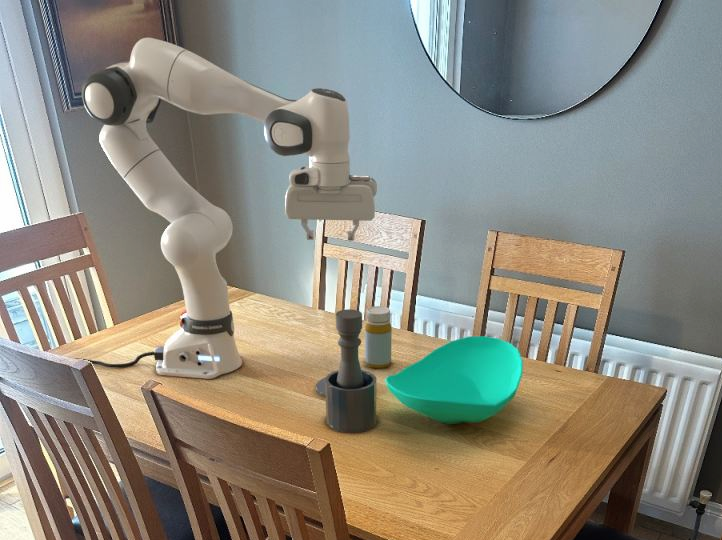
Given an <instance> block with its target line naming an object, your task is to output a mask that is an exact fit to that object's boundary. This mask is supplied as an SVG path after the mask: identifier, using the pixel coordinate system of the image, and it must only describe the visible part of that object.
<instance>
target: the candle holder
mask: <svg viewBox="0 0 722 540" xmlns="http://www.w3.org/2000/svg"><path fill="white" fill-rule="evenodd" d="M335 329H336V331H337V333H338V335H339V338H338V339H337V345H338V346H339V347H340V363H339V368H338V370H339V372H338V376H337V385H338V387H339V388H343V389H357V388H362V386H363V383H364V379H363V375H362V371H361V370H362V367H361V364H360V358H359V348H360V346H361V344H362V340H361V338H360V334H361V332H362V329H363V313H362V311H359V309H351V308H349V309H348V308H347V309H341V310H338V311H336V313H335Z"/></svg>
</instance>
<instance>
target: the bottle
mask: <svg viewBox="0 0 722 540" xmlns="http://www.w3.org/2000/svg"><path fill="white" fill-rule="evenodd" d="M392 329H393V328H392V325H391V309H390V308H389V307H387V306H382V305H375V306H369V307H367V308H366V324H365V326H364V361H365V364H366V365H367V366H368V367H369V368H371V369H385V368H387V367H389V366H390V365H391V363H392V337H393V336H392V334H393V333H392V331H393V330H392Z"/></svg>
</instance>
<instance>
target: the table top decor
mask: <svg viewBox="0 0 722 540" xmlns="http://www.w3.org/2000/svg"><path fill="white" fill-rule="evenodd" d="M523 366H524V361H523V357H522V355H521V353H520V351H519V349H518V348H517V347H515V346H514V345H513V344H512V343H511V342H510V341H506V340H503V339H501V338H498V337H491V336H487V335H486V336H485V335H484V336H483V335H482V336H481V335H472V336H471V335H470V336H466V337H461V338H457V339H454V340H451V341H449V342H447V343H445V344H443V345H441V346H439V347H437V348H435V349H434V350H432V351H431V352H430V353H428V354H427V355H425V356H424V357H422V358H421V359H420V360H418V361H416V362H414V363H412V364H409V365H408V366H406V367H405V368H403V369H401V370H400V371H399V372H397V373H396V374H391V375H390V374H389V375H387V376H386V377H385V379H384V382H385V384H386V388H387V390H388V391H389V392H390V394H391V395H392V396H394V397H395V399H397V401H399V402H400V403H401V404H402V405H404V406H406V407H407V408H409V409H411V410H412V411H415V412H416V413H419V414H421V415H423V416H425V417H427V418H430V419H432V420H434V421H436V422H438V423H441V424H445V425H457V424H461V423H469V424H475V423H481V422H483V421H485V420H487V419H489V418H491V417H493V416H494V415H496V414H498V413H500V412H501V411H502V410H503V409H504V408H505V407H506V406H507V405H508V404H509V403H510V402H511V401H512V400H513V399H514V398H515V396H516V394H517V392H518V389H519V386H520V383H521V379H522V376H523V370H524V369H523V368H524V367H523Z"/></svg>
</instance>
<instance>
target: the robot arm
mask: <svg viewBox="0 0 722 540" xmlns="http://www.w3.org/2000/svg"><path fill="white" fill-rule="evenodd" d="M81 101H82V104H83V106H84V108H85V110H86V111H87V113H88V114H89V116H90V117H91V118H92V119H93V120H95V121H96V122H97V123H99V124H101V125H102V128H101V130H100V132H99V143H100V145H101V147H102V149H103V151H104V152H105V154H106V156H107V157H108V160H109V161H110V162H111V164H112V165H113V167H114V168H115V170H116V171H117V173H118V174H119V175H120V176H121V178H122V179H123V180H124V181H125V183H126V184H127V186H129V188H130V189H131V190H132V192H133V193H134V194H135V195H136V196H137V198H138V199H139V200H140V202H141V203H142V204H143V205H144V206H145V207H146V208H147V209H148V210H149V211H150V212H153V213H156V214H158V215H159V216H161V217H162V218H164V219H166V220H167V221H168V222H169V223H170V224H169V225H168V226H167V228H166V229H165V230H164V232H163V233H162V235H161V238H160V249H161V252H162V255H163V256H164V258H165V259H166V260H167V261H168V263H170V264H171V265H172V266H173V267H174V269H175V272H176V273H177V275H178V278H179V281H180V284H181V288H182V294H183V298H184V305H185V309H183V310H182V311H181V313H180V317H179V326H180V327H181V328H179V329H178V330H177V331H176V332H175V333H173V334H172V335H171V336H170V337H169V338H168V339H167V340H166V342H165V344H164V346H163V345H162V346H161V345H158V346H157V347H156V349H154V351H149V352H144V353H141V354H139V355H137V356H136V358H135V359H134V360H133V361H130V362H127V363H107V362H104V361H100V360H93V359H87V358H82V359H83V360H88V361H90V362H92V365H97V366H98V365H99V366H102V367H106V368H112V369H113V368H116V369H117V368H127V367H132V366H134V365H136V364H138V363H139V361H140V360H141V359H143V358H146V357H149V356H150V357H151V356H153V357H154V360H155V361H157V362H156V365H155V370H156V373H157V374H158V375H159V376H160V375H161V376H169V377H180V378H181V377H182V378H194V379H205V380H206V379H207V380H212V379H216V378H217V377H219V376H221V375H224V374H227V373H232V372H234V371H236V370H237V369H239V368H240V367H241V366H242V365H243V359H242V358H241V355H240V353H239V350H238V346H237V344H236V338H235V323H234V321H235V320H234V317H233V312H232V310H231V306H230V298H229V297H230V296H229V289H228V283H227V280H226V279H225V278H224V277H223V276H222V275H221V272H220V270H219V268H218V264H217V260H216V255H217V253H219V252H220V251H221V250H223V249H225V247H226V246H227V245H228V243H229V242H230V240H231V237H232V236H233V230H234V228H233V227H234V226H233V222H232V219H231V217H230V215H229V214H228V213H227V212H226V211H225V210H224V209H223V208H221V207H219V206H216V205H214V204H213V203H212V202H210V201H209V200H208V199H206V198H205V197H204V196H202V195H201V194H200V193H199V192H198V191H197V190H196V189H195V188H194V187H192V186H191V185H190V184H189V183H188V182H187V181H186V180H185V179H184V178H183V177H182V175H181V174H180V173H179V172H178V170H177V169H176V168H175V166H173V163H171V161H170V160H169V159H168V158H167V156H166V155H165V154H164V152H163V151H162V150H161V149H160V147H159V146H158V145H157V143H155V141H154V140H153V139H152V137H151V136H150V134H149V132H148V130H147V124H151V123H153V122H154V120H155V118H156V116H157V113H158V110H159V109H160V107H161V106H162V104H163V101H165V102H167V103H168V104H171V105H173V106H175V107H177V108H179V109H181V110H184V111H187V112H189V113H193V114H197V115H204V116H206V115H207V116H208V115H209V116H210V115H218V114H238V115H243V116H245V117H250V118H252V119H254V120H256V121H259V122H262V123H263V124H264V126H263V133H264V139H265V141H266V143H267V145H268V147H269V148H270V149H271V150H272V151H273V153H275V154H276V155H279V156H281V157H282V156H283V157H295V156H297V155H303V154H304V155H307V156H308V164H306V165H303V166H301V167H297V168H294V169H293V170H292V171H291V172H290V173H289V175H288V179H289V185H288V187H287V190H286V193H285V200H284V201H285V202H284V215H285V216H286V218H287V219H288V220H300V222H301V223H300V224H301V226H302V228H303V230H304V232H305V233H306V240H307V241H313V240H314V238H315V237H314V230H313V229H310V228H309V226H308V223H309V221H310V220H314V221H322V220H323V221H352V225H353V227H352V229H351V230H348V231H347V241H351V242H355V234H356V232H357V230H358V228H359V227H360V222H361V221H363V222H371V221H373V220H374V218H376V208H375V199H374V198H375V196H376V195H377V191H378V185H377V181H376V180H375V178H373V177H371V176H370V175H367V174H365V175H359V174H351V173H350V172H351V171H350V170H351V169H350V168H351V167H350V166H351V165H350V163H351V161H350V154H349V143H350V138H351V137H350V135H351V134H350V116H349V115H350V114H349V108H348V107H349V106H348V103H347V99H346V98H345V97H344V95H343V94H341V93H339V92H337V91H336V90H335V91H334V90H332V89H327V88H322V87H321V88H319V87H317V88H313V89H311V90H310V91H308V93H306V95H304V96H303V97H301V98H298V99H289V98H285V97H282V96H280V95H278V94H276V93H273V92H271V91H270V90H269V91H268V90H266V89H264V88H261V87H259V86H256V85H254V84H252V83H249V82H248V81H245V80H243V79H242V78H239V77H237V76H235V75H234V74H232V73H231V72H228V71H227V70H225V69H223V68H221V67H220V66H218V65H216V64H214V63H212V62H211V61H209V60H208V59H206V58H204V57H202V56H200V55H198V54H197V53H194V52H193V51H190V50H188V49H186V48H183V47H181V46H179V45H176V44H174V43H171V42H169V41H165V40H161V39H158V38H154V37H143V38H141V39H139V40H138V41H137V42H136V43H135V44H134V46H133V47H132V50H131V53H130V58H129V61H128V62H119V63H115V64H112V65H110V66H107V67H105V68H101V69H98V70H95V71H93V72H92V73H90V74H89V75H87V77H86V78H85V80H84V81H83V83H82V86H81ZM75 359H81V358H77V357H76V358H75Z"/></svg>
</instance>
